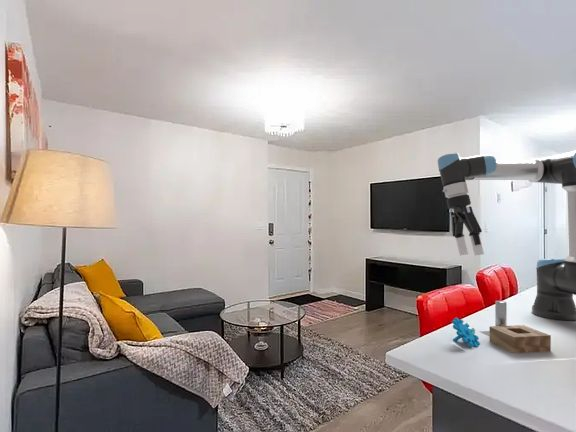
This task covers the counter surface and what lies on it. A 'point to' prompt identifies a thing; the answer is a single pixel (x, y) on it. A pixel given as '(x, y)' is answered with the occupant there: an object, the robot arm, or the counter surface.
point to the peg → (500, 313)
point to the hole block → (520, 339)
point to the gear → (465, 333)
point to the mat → (486, 333)
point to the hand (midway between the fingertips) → (471, 254)
